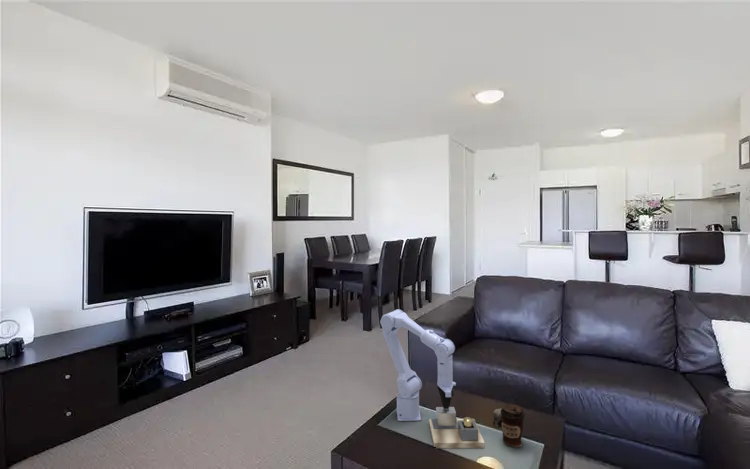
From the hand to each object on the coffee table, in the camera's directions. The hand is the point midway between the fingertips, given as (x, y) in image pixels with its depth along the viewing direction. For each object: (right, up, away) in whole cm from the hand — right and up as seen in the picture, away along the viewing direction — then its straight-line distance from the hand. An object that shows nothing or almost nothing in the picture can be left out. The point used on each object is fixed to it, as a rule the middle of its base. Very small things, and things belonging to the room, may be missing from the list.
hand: (445, 405), depth 142 cm
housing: (0, -7, 0) cm, 7 cm away
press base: (+3, -10, -3) cm, 11 cm away
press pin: (+7, -5, -7) cm, 11 cm away
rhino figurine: (+26, -9, +5) cm, 28 cm away
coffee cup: (+23, -10, -8) cm, 26 cm away
